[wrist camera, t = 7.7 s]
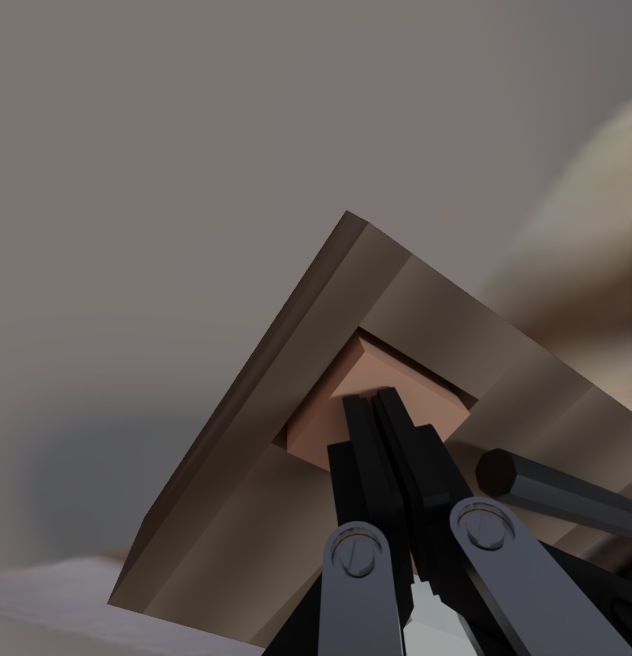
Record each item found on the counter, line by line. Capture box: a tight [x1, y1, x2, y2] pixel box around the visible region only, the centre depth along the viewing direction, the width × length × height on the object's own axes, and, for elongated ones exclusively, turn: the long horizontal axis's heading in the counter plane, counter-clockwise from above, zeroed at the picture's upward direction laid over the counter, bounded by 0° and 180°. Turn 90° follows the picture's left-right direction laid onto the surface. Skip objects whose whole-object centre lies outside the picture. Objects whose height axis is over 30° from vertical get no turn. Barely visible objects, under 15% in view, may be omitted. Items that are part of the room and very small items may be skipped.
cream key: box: [404, 574, 477, 656], centre depth 16 cm, size 4×4×3 cm
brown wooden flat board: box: [107, 211, 632, 648], centre depth 16 cm, size 16×18×4 cm
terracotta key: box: [287, 326, 470, 472], centre depth 12 cm, size 4×4×3 cm
